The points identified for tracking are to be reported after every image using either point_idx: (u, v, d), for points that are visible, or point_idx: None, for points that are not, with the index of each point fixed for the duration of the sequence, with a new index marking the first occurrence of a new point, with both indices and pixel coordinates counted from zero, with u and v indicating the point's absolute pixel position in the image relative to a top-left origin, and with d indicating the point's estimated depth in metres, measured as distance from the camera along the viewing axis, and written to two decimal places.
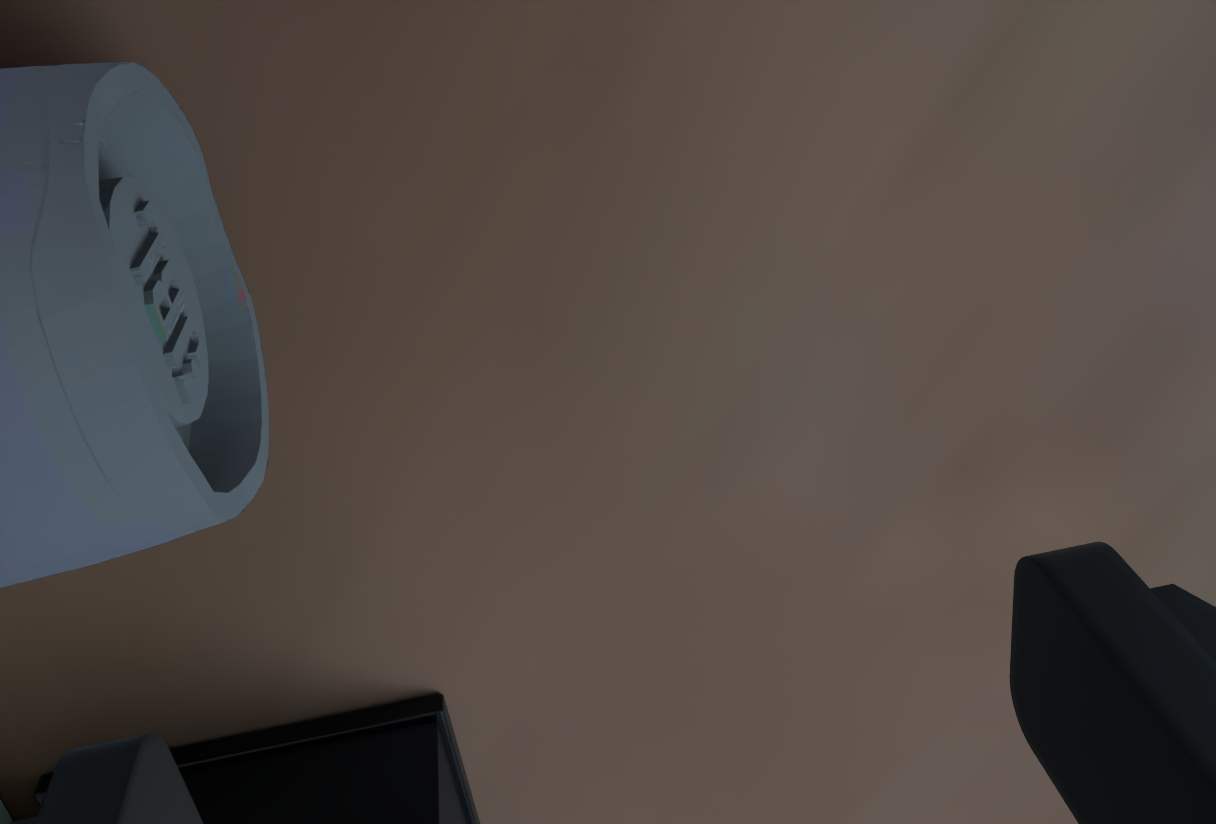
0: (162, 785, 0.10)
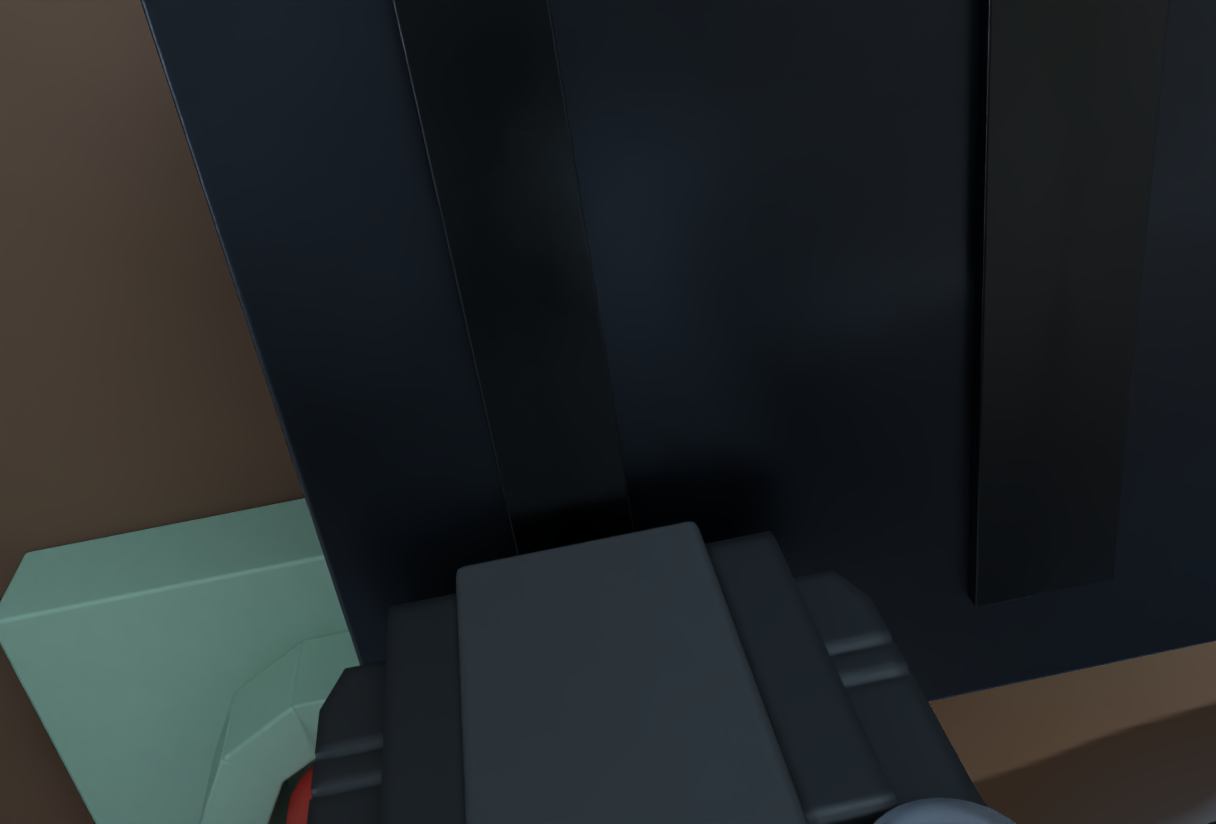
0: None
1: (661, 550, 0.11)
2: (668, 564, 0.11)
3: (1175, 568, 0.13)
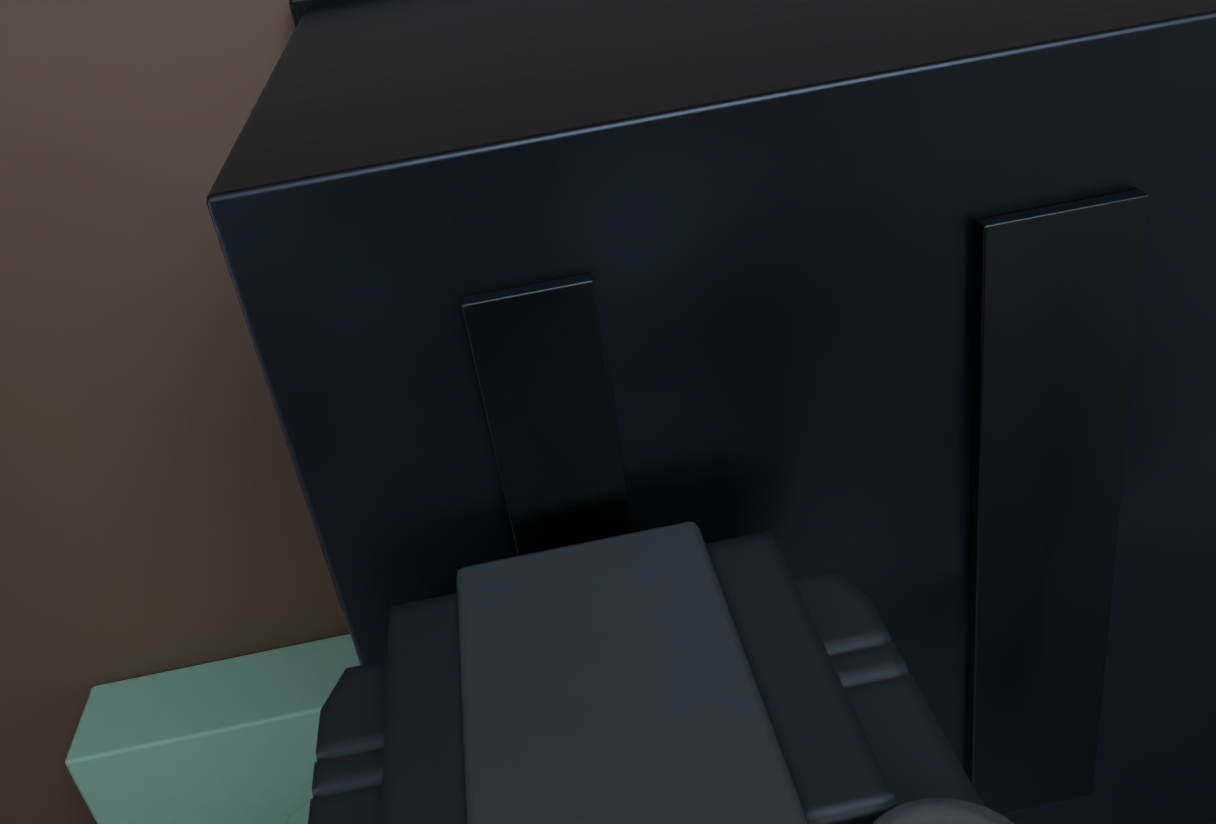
0: None
1: (661, 550, 0.11)
2: (668, 565, 0.11)
3: (1148, 781, 0.15)
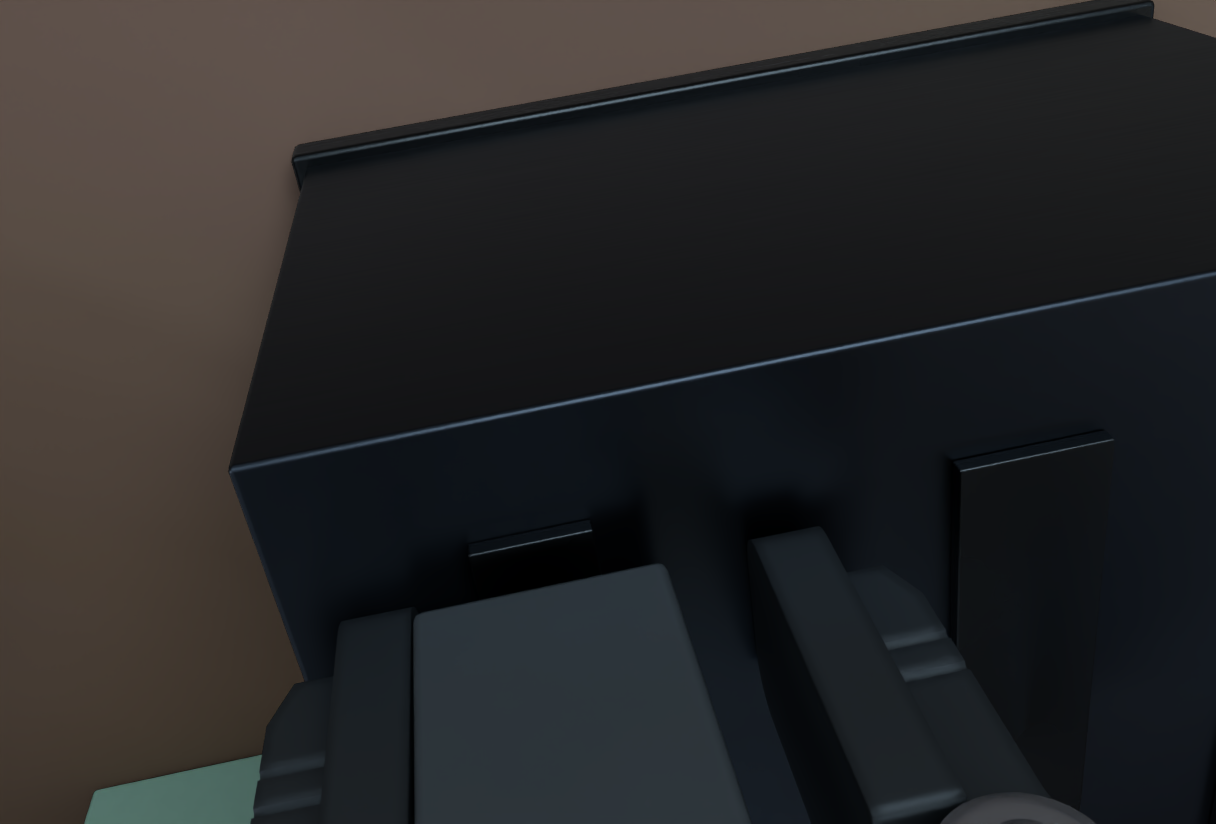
0: None
1: (628, 595, 0.10)
2: (635, 612, 0.10)
3: None
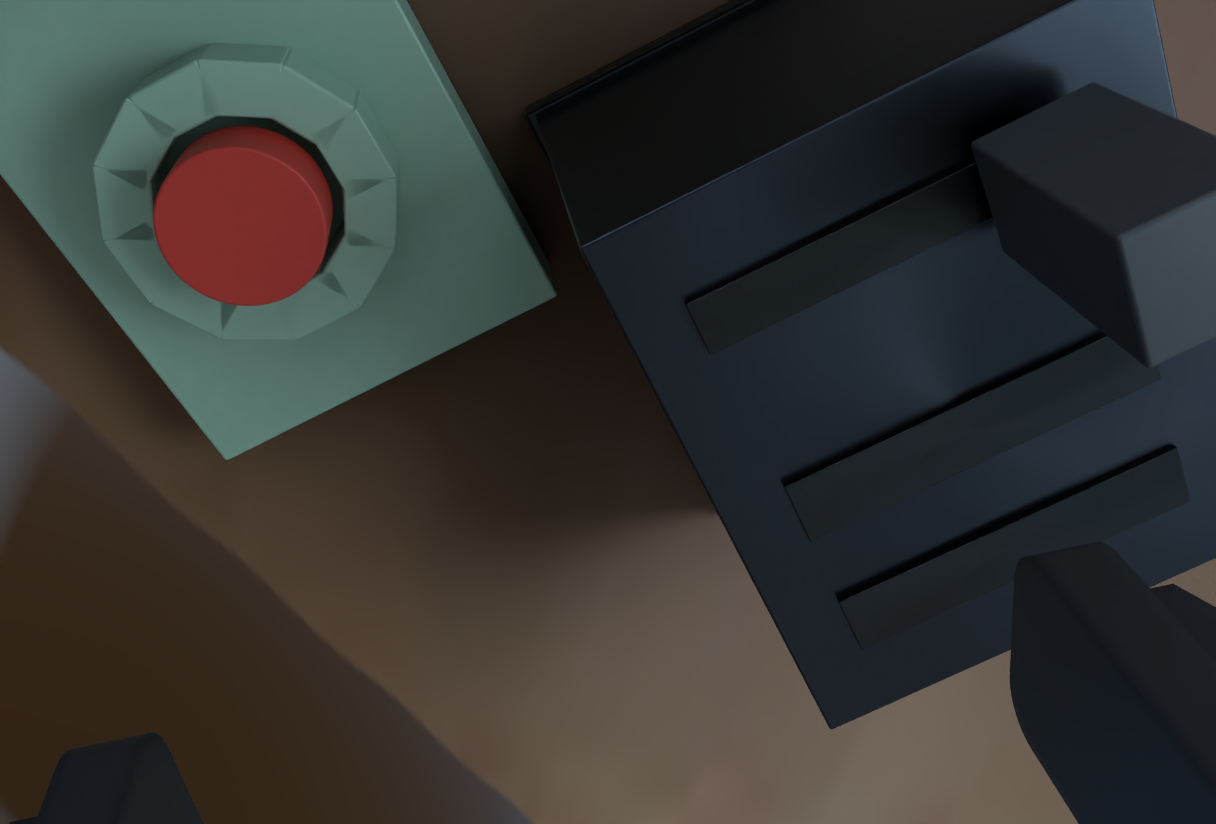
0: (162, 785, 0.10)
1: None
2: None
3: (812, 569, 0.25)
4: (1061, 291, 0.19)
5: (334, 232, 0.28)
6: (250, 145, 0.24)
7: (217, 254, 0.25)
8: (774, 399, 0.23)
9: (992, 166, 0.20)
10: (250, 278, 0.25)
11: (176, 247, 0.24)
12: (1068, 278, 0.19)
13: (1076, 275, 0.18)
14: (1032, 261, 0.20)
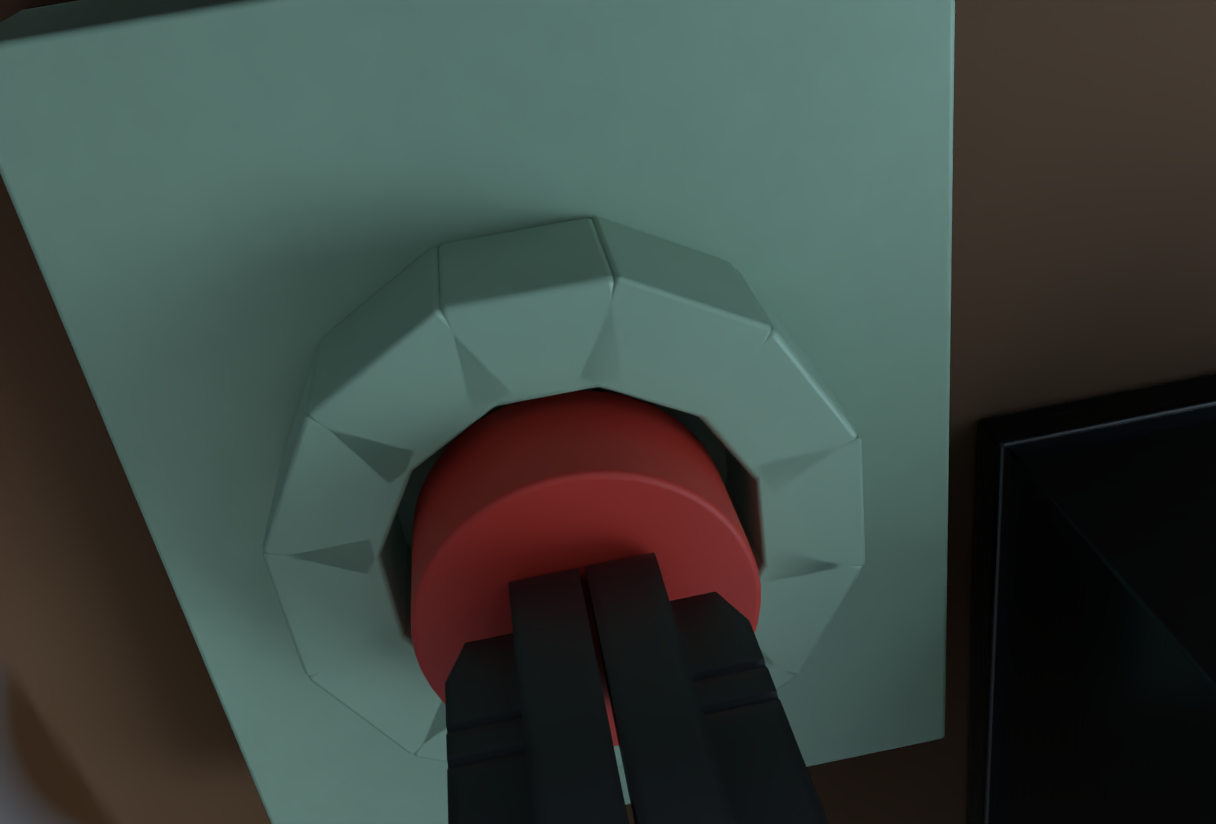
0: None
1: None
2: None
3: None
4: None
5: None
6: (680, 476, 0.11)
7: None
8: None
9: None
10: None
11: (448, 628, 0.11)
12: None
13: None
14: None
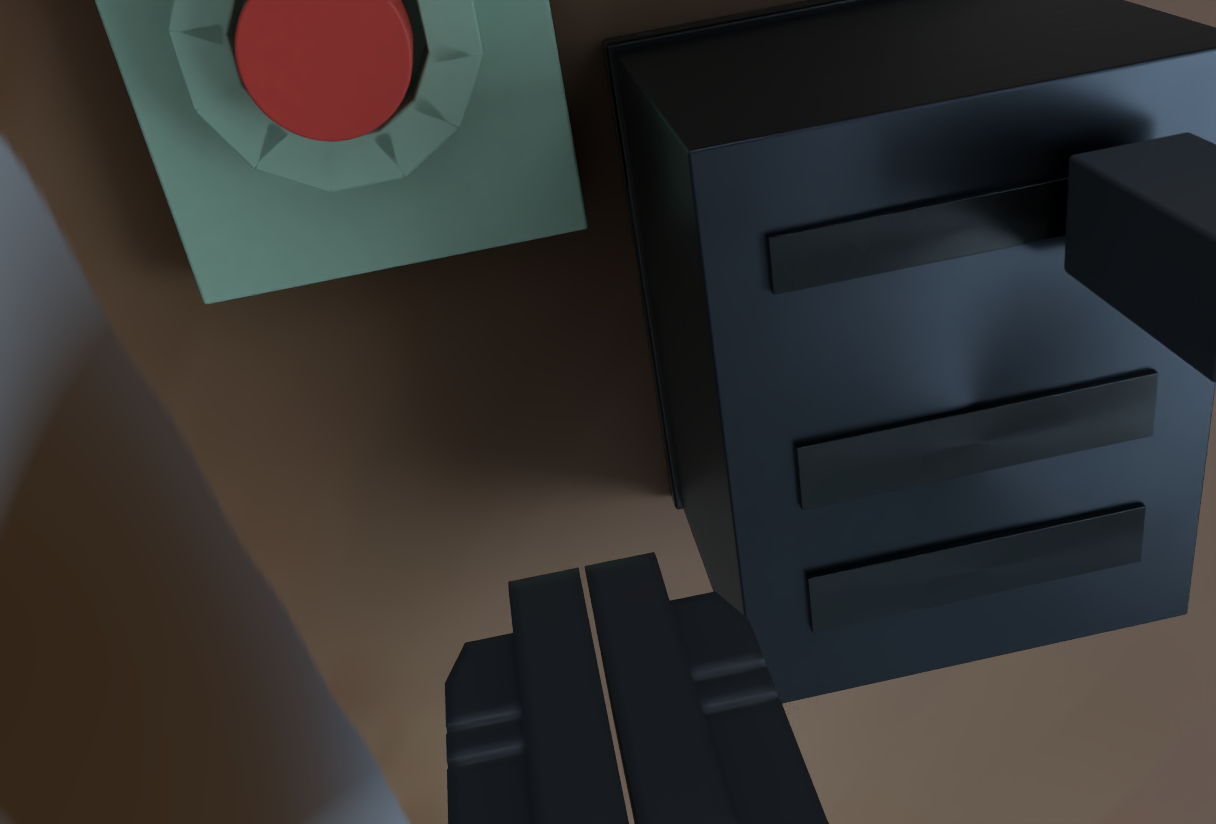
0: None
1: None
2: None
3: (793, 539, 0.25)
4: (1129, 307, 0.20)
5: None
6: None
7: (292, 74, 0.24)
8: (814, 358, 0.23)
9: (1090, 179, 0.21)
10: (316, 109, 0.24)
11: (252, 54, 0.23)
12: (1144, 293, 0.20)
13: (1158, 288, 0.19)
14: (1102, 277, 0.21)
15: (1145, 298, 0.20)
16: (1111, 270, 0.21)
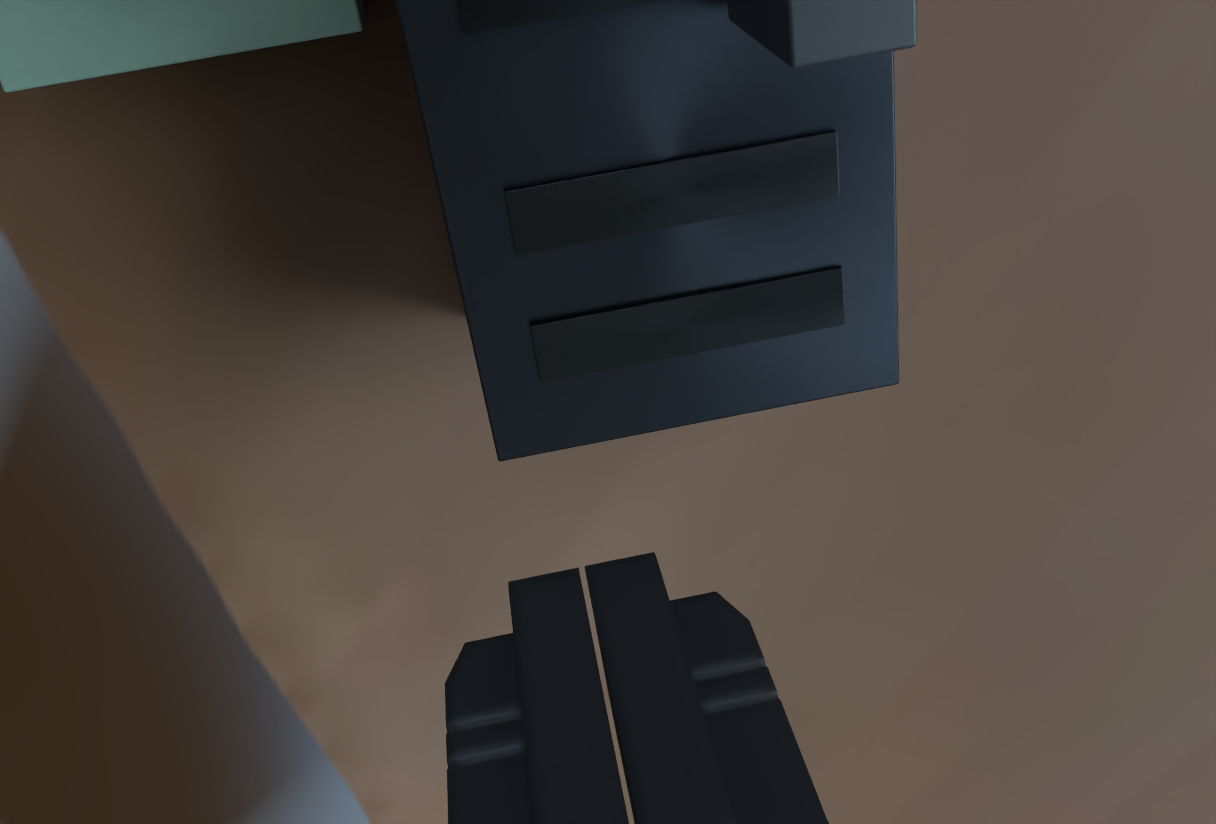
0: None
1: None
2: None
3: (514, 287, 0.28)
4: (754, 28, 0.23)
5: None
6: None
7: None
8: (512, 102, 0.26)
9: None
10: None
11: None
12: (759, 9, 0.22)
13: None
14: (742, 10, 0.24)
15: (759, 13, 0.22)
16: None
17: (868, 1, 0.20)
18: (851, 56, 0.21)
